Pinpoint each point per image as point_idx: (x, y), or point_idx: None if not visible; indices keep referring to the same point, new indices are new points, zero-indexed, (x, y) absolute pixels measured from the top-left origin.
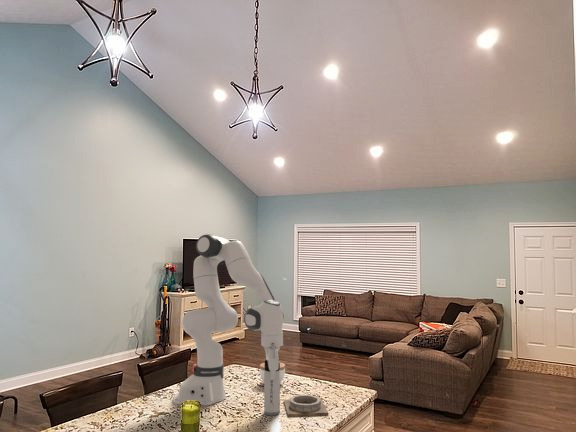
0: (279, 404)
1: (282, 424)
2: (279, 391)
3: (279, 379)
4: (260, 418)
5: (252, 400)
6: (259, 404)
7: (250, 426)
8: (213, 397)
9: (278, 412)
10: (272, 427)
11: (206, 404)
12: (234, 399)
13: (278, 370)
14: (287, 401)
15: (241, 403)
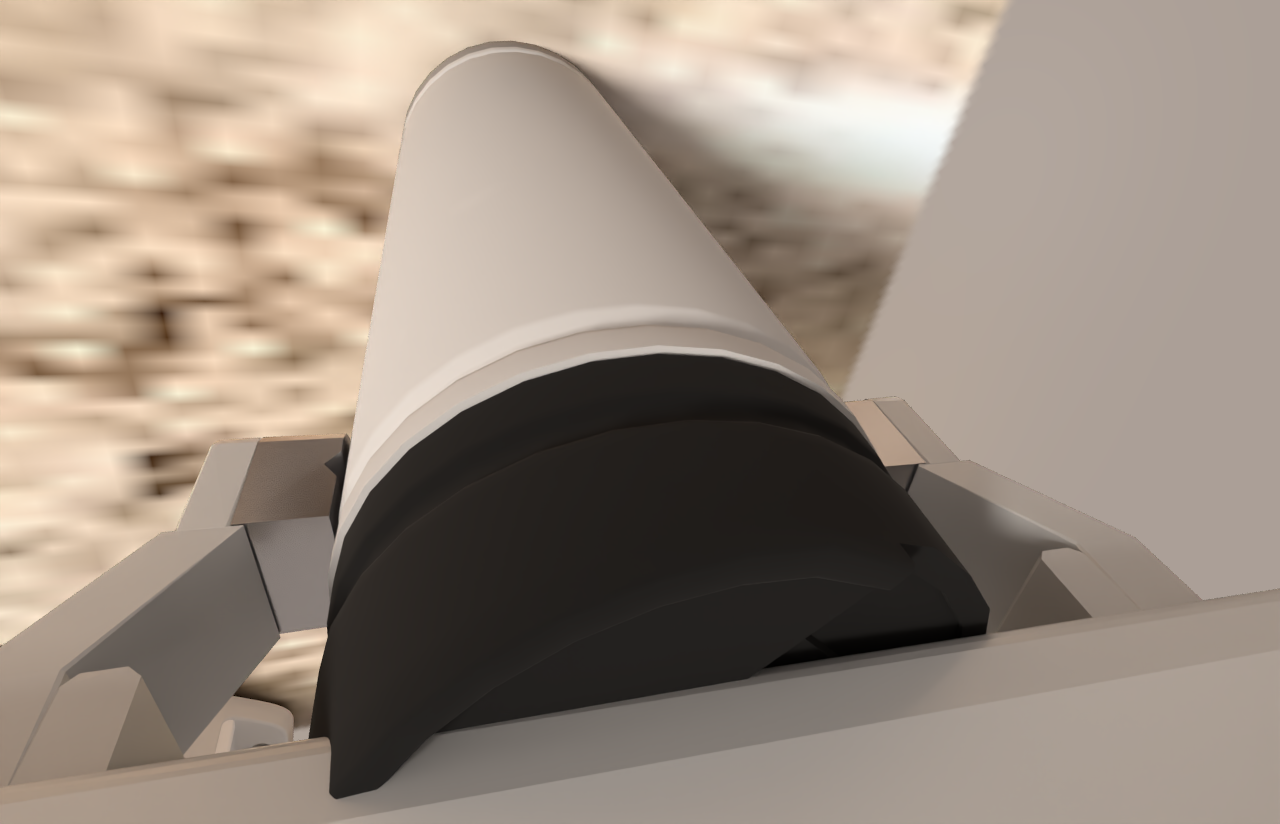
0: (573, 77)
1: (901, 66)
2: (617, 134)
3: (687, 228)
4: None
5: (13, 387)
6: (179, 301)
7: (828, 382)
8: (212, 745)
9: (583, 75)
10: (927, 190)
11: (293, 728)
12: (35, 568)
13: (840, 411)
14: None
15: (176, 493)
